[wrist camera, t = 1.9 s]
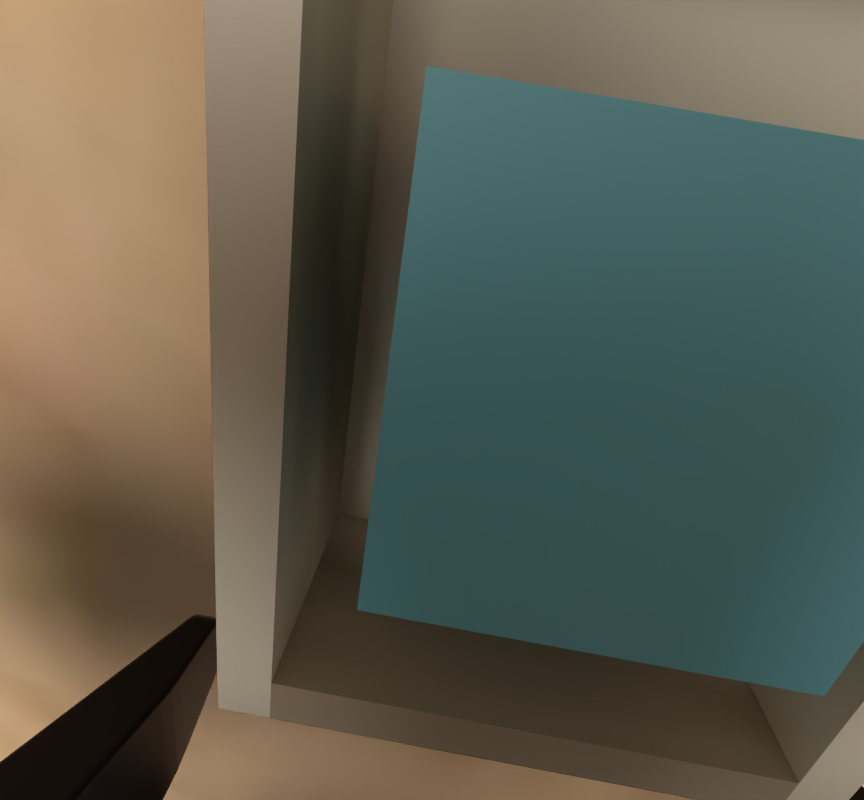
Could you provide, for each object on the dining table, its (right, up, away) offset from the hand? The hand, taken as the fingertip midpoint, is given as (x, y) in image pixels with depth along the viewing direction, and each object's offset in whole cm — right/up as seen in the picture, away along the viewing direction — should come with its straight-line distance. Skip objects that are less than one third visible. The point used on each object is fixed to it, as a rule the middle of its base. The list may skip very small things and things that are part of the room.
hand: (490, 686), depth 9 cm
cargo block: (+1, +6, -2) cm, 6 cm away
